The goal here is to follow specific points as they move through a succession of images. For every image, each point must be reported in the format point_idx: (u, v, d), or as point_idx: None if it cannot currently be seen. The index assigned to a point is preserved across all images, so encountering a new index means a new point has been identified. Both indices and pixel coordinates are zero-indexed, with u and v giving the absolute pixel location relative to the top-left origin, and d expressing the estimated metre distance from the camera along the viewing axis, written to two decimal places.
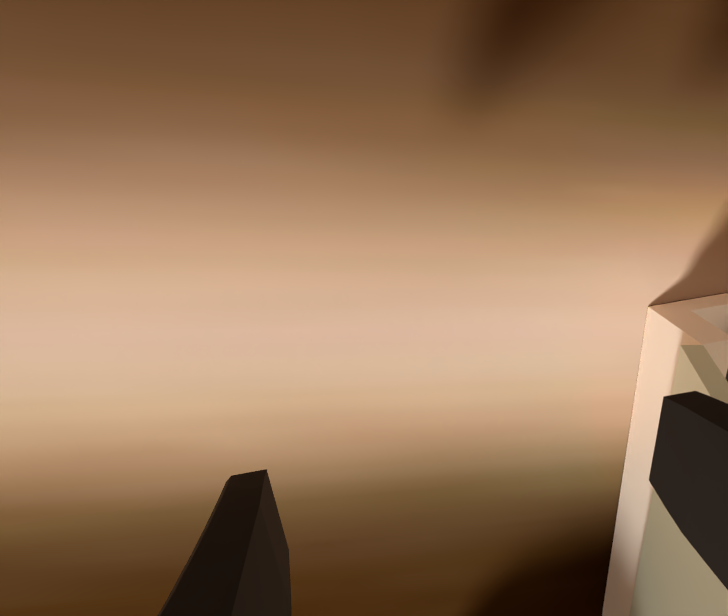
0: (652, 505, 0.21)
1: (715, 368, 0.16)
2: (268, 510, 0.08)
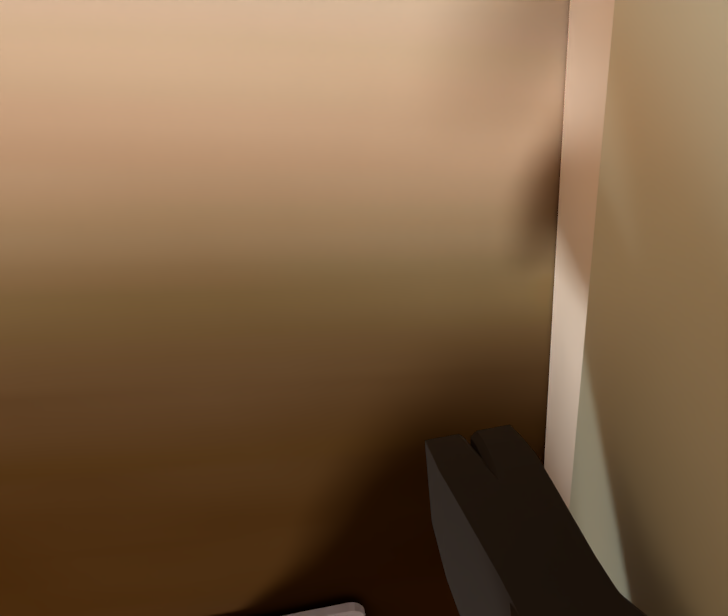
0: (592, 282, 0.10)
1: None
2: None
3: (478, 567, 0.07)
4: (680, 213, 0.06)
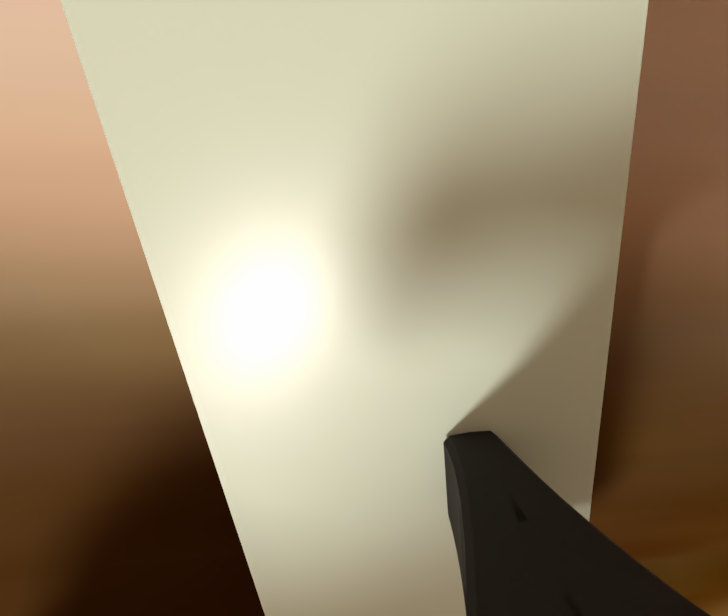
0: (195, 368, 0.09)
1: None
2: None
3: None
4: (409, 203, 0.07)
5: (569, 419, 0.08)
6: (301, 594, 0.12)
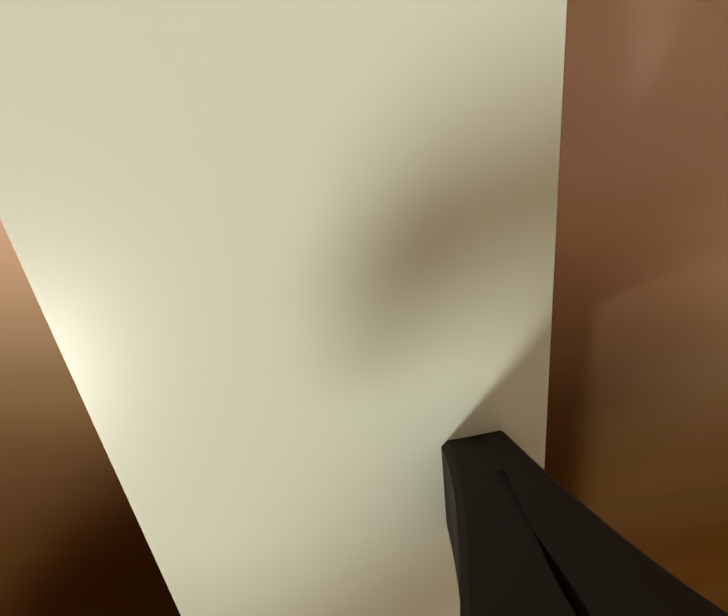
0: (116, 434, 0.08)
1: None
2: None
3: None
4: (353, 222, 0.07)
5: (519, 417, 0.09)
6: None
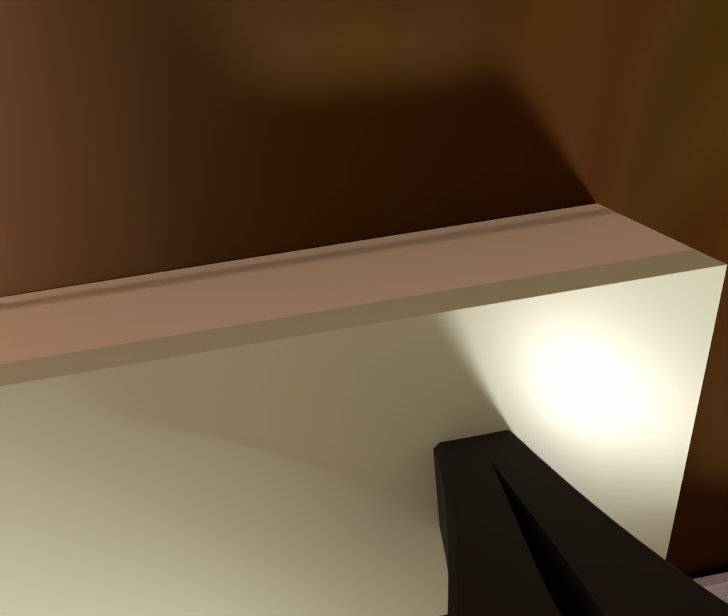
0: None
1: None
2: None
3: (538, 555, 0.07)
4: None
5: None
6: (367, 596, 0.10)
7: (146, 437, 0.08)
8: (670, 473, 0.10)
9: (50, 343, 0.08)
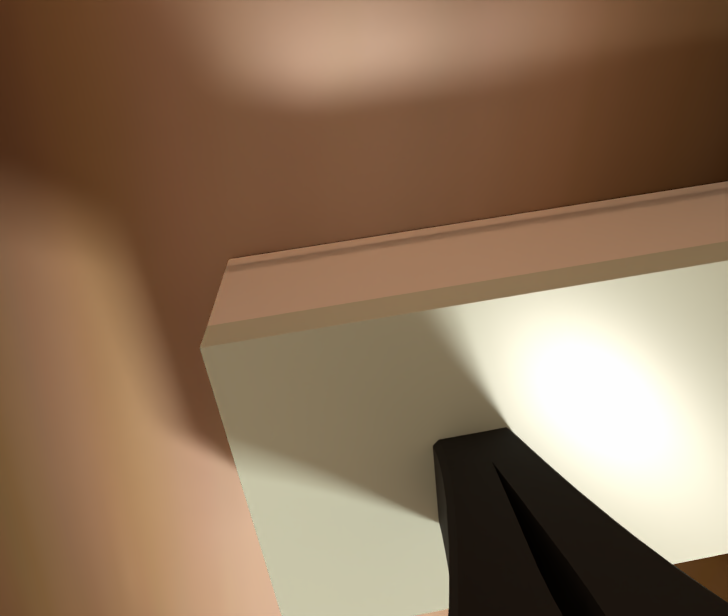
0: None
1: None
2: None
3: (539, 555, 0.07)
4: (526, 438, 0.09)
5: None
6: None
7: None
8: None
9: None
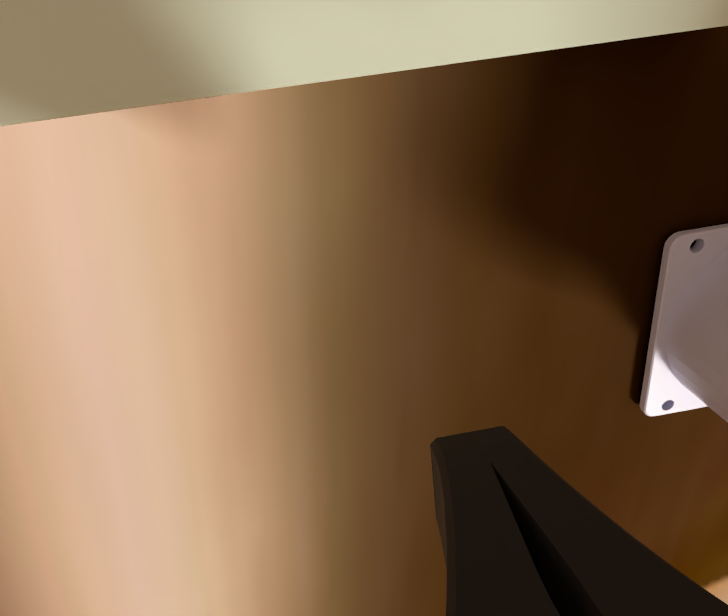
0: (273, 76, 0.11)
1: None
2: None
3: (537, 555, 0.07)
4: None
5: None
6: None
7: None
8: None
9: None
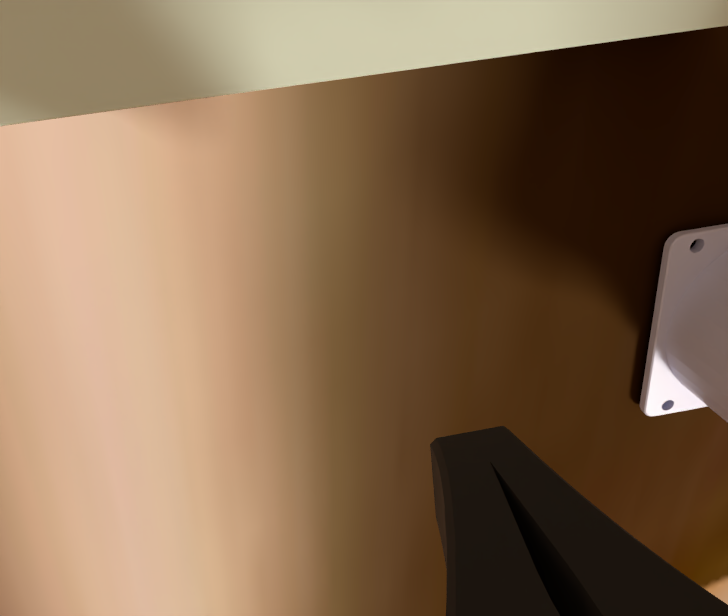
0: (273, 76, 0.11)
1: None
2: None
3: (537, 555, 0.07)
4: None
5: None
6: None
7: None
8: None
9: None
